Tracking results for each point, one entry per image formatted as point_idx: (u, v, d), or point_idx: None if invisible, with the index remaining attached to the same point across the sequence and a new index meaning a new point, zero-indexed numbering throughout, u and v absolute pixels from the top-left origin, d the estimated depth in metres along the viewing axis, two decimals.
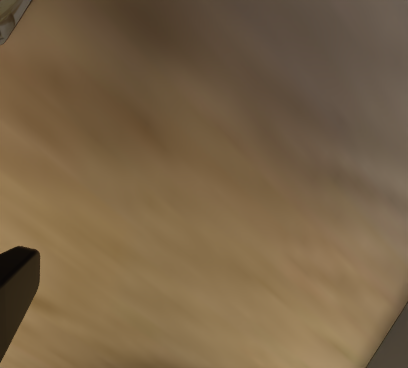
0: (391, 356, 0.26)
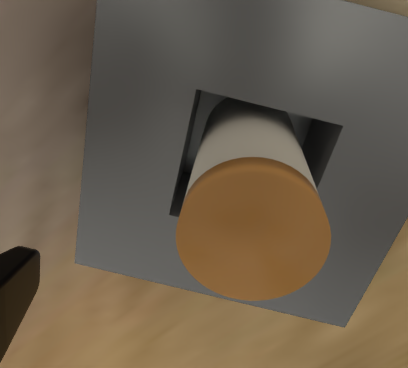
0: None
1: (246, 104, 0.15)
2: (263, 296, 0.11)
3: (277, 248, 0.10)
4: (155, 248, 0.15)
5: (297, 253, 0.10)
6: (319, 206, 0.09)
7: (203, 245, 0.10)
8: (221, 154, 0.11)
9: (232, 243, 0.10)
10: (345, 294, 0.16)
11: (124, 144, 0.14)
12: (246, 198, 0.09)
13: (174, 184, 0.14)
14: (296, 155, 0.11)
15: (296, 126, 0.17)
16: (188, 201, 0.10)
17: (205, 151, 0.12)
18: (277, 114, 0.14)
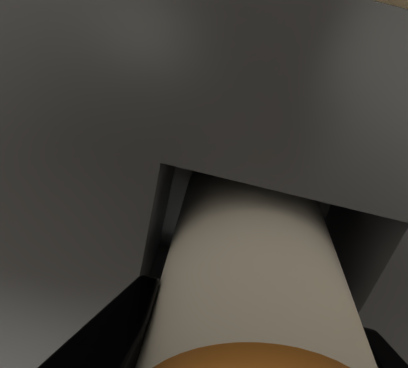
0: None
1: None
2: None
3: None
4: None
5: None
6: None
7: None
8: (198, 314, 0.05)
9: None
10: None
11: (50, 242, 0.08)
12: None
13: None
14: (338, 300, 0.06)
15: None
16: None
17: (174, 277, 0.07)
18: None
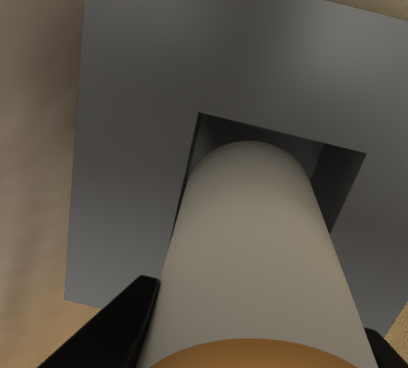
0: None
1: (246, 167, 0.09)
2: None
3: None
4: None
5: None
6: None
7: None
8: (199, 311, 0.05)
9: None
10: None
11: (117, 173, 0.12)
12: None
13: (174, 216, 0.13)
14: (338, 297, 0.06)
15: (308, 146, 0.15)
16: None
17: (174, 275, 0.07)
18: (293, 186, 0.09)
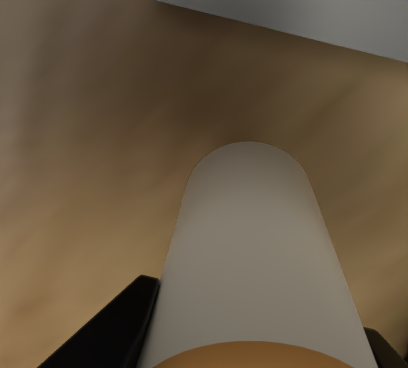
0: None
1: (246, 169, 0.09)
2: None
3: None
4: None
5: None
6: None
7: None
8: (199, 313, 0.05)
9: None
10: None
11: None
12: None
13: None
14: (338, 299, 0.06)
15: None
16: None
17: (174, 276, 0.07)
18: (294, 187, 0.09)
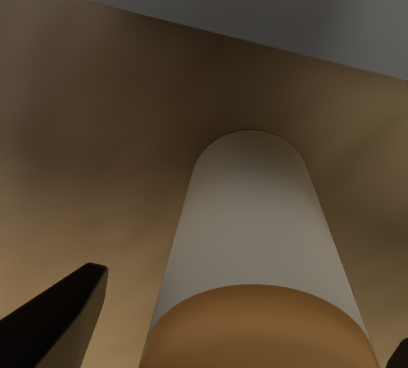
0: None
1: (248, 153, 0.10)
2: None
3: None
4: None
5: None
6: None
7: None
8: (208, 266, 0.06)
9: None
10: None
11: None
12: None
13: None
14: (327, 258, 0.07)
15: None
16: None
17: (185, 242, 0.08)
18: (291, 169, 0.10)
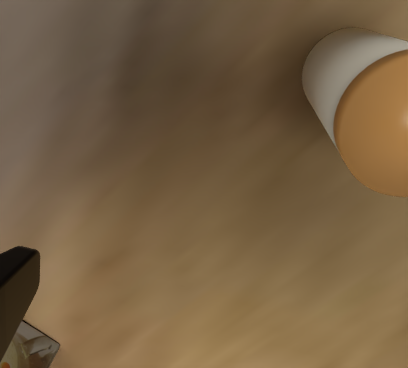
0: None
1: (361, 31, 0.15)
2: None
3: None
4: None
5: None
6: None
7: (368, 136, 0.10)
8: (377, 53, 0.11)
9: (398, 133, 0.10)
10: None
11: None
12: None
13: None
14: None
15: None
16: (361, 88, 0.10)
17: (344, 62, 0.12)
18: None
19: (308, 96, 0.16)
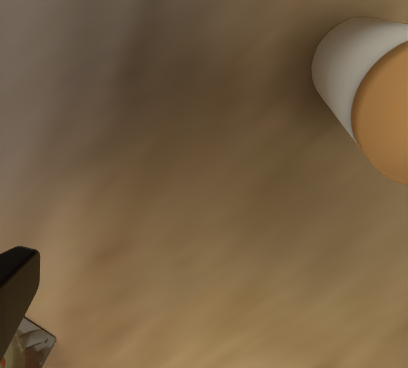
0: None
1: (375, 19, 0.15)
2: None
3: None
4: None
5: None
6: None
7: (388, 123, 0.10)
8: (398, 38, 0.11)
9: None
10: None
11: None
12: None
13: None
14: None
15: None
16: (383, 73, 0.10)
17: (362, 48, 0.12)
18: None
19: (319, 86, 0.16)
